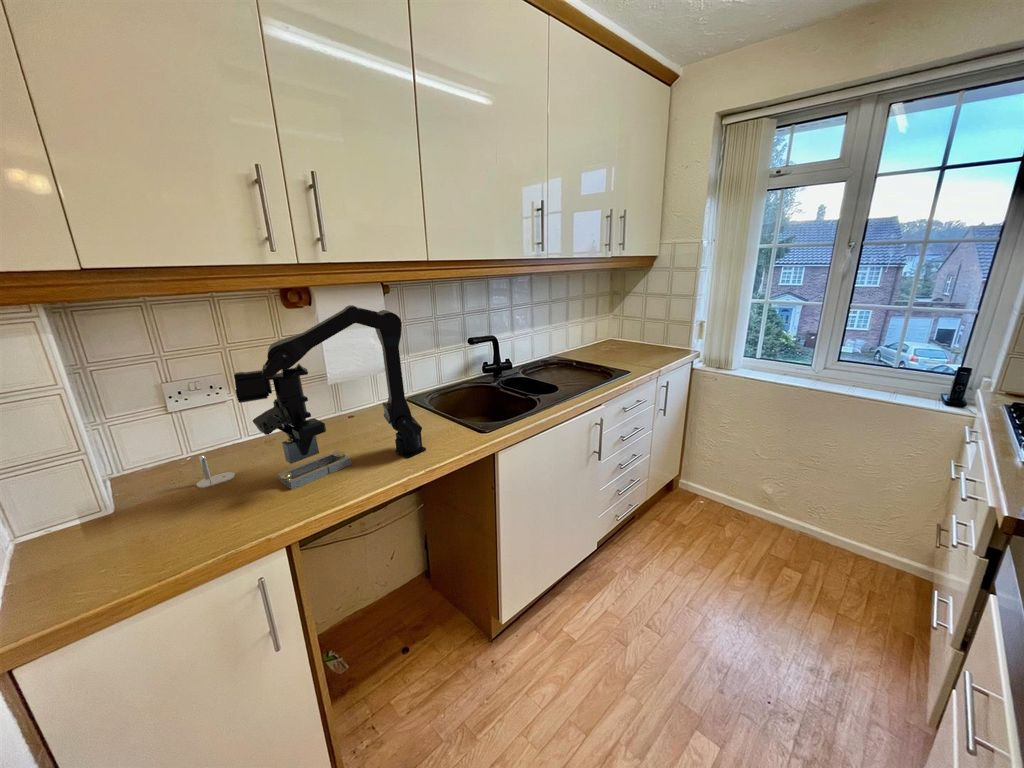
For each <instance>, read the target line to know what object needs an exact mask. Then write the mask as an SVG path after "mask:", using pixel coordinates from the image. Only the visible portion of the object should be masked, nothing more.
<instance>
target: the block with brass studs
mask: <svg viewBox="0 0 1024 768" xmlns="http://www.w3.org/2000/svg"><path fill="white" fill-rule="evenodd" d="M281 445H282V449H283V454H284V457H285V461H286V462H287V463H289V464H290V465H291V464H294V463H295V464H296V463H297V462H300V461H302V460H305V459H308V458H311V457H313V456H315V455H318V454H320V451H319V445H318V441H317V435H315V436H314V437H313V439H312V442H311V445H310V448H309V451H308V454H307V455H305V456H303V455H302V453H301V451H300V449H299V446H298V443H297V441H296V439H295V438H293V439H292V438H290V439H289V438H287V439H286V440H285V441H282V442H281Z"/></svg>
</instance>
